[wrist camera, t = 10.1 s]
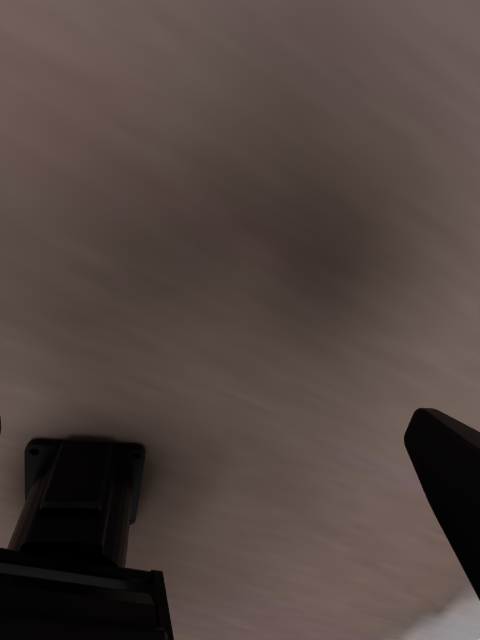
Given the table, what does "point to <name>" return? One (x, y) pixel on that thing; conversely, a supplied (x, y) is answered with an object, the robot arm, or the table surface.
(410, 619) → the table surface
